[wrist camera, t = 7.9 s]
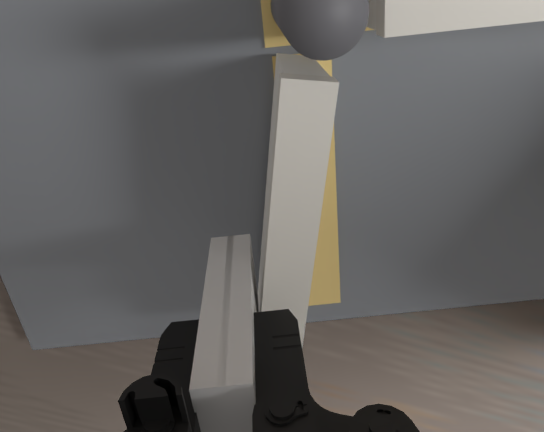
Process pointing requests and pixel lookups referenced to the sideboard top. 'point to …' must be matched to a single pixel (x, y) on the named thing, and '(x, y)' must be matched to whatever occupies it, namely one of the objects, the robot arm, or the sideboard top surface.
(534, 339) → the sideboard top surface
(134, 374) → the sideboard top surface
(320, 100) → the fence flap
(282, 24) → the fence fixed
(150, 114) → the card
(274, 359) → the robot arm
